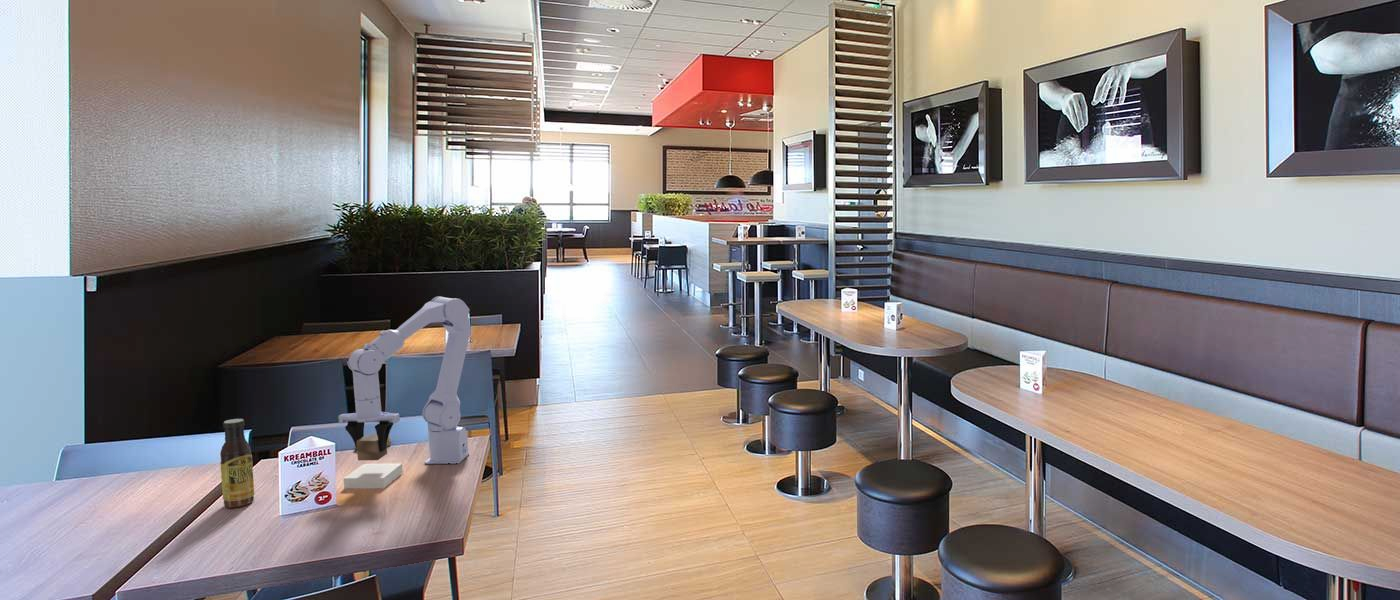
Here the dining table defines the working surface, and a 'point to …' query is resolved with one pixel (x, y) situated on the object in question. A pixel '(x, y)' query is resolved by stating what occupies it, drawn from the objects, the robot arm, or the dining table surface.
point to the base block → (373, 476)
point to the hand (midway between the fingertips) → (371, 450)
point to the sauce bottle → (236, 466)
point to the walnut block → (369, 448)
